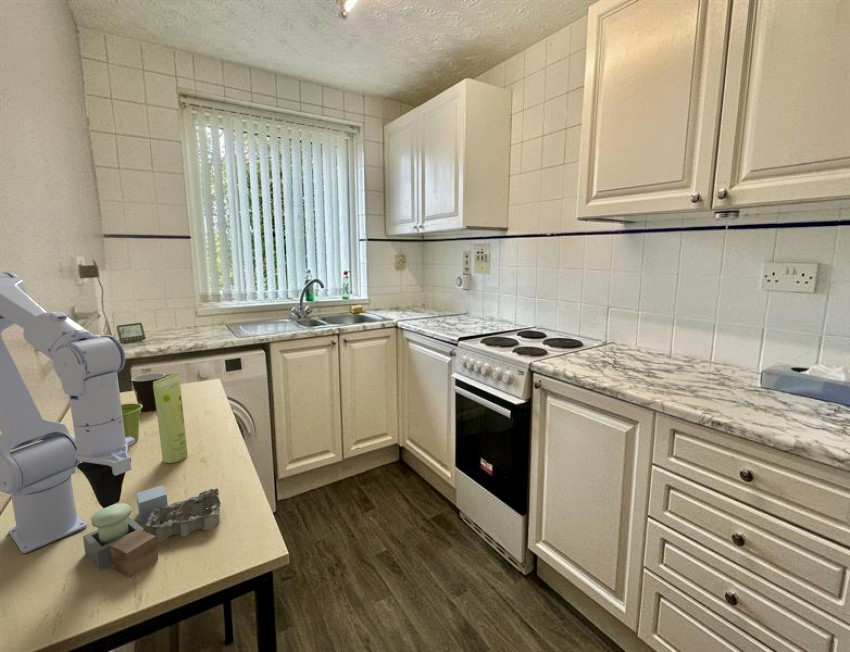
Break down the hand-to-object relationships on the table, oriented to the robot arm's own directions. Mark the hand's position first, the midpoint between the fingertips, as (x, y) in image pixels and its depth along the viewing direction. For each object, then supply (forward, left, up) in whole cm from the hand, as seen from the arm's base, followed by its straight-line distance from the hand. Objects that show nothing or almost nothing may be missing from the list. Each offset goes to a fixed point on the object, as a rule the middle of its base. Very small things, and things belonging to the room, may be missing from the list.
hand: (110, 503), depth 62 cm
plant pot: (-45, +16, -8) cm, 48 cm away
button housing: (0, 0, -8) cm, 8 cm away
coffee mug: (-65, +30, -8) cm, 72 cm away
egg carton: (+2, +9, -8) cm, 13 cm away
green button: (0, 0, -6) cm, 6 cm away
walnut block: (+6, 0, -8) cm, 10 cm away
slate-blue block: (-6, +7, -8) cm, 12 cm away
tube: (-25, +19, -8) cm, 32 cm away
